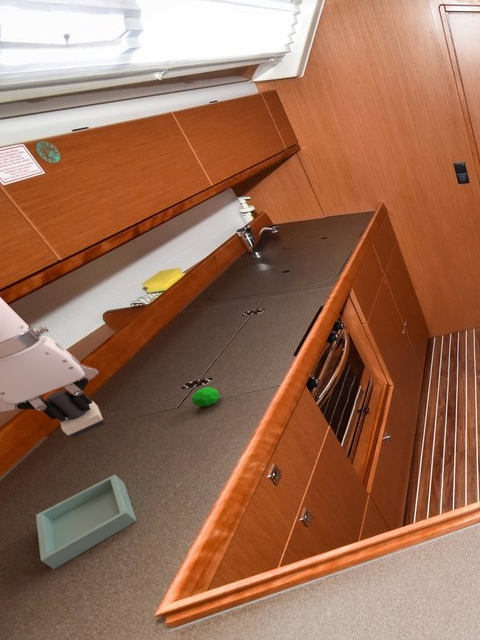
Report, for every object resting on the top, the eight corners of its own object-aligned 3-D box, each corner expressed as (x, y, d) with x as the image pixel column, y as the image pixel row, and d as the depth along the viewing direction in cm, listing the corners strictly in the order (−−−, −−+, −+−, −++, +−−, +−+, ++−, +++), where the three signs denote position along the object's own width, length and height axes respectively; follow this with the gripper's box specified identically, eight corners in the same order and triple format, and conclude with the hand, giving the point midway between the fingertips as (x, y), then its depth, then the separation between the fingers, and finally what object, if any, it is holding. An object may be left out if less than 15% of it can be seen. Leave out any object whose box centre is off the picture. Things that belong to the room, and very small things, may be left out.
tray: (47, 523, 82) (35, 514, 80) (124, 482, 89) (114, 474, 88) (53, 569, 74) (40, 560, 73) (136, 520, 82) (126, 512, 80)
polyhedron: (209, 396, 111) (199, 384, 109) (228, 395, 111) (218, 383, 109) (193, 411, 107) (182, 398, 104) (212, 410, 107) (201, 397, 104)
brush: (67, 424, 87) (35, 395, 82) (101, 409, 90) (72, 380, 86) (72, 439, 83) (39, 409, 79) (107, 423, 87) (77, 394, 82)
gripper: (69, 317, 83) (128, 382, 92) (-74, 362, 72) (10, 431, 81) (74, 329, 79) (135, 396, 89) (-76, 378, 68) (12, 449, 77)
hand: (75, 412), depth 85 cm, fingers closed on brush, 2 cm apart
